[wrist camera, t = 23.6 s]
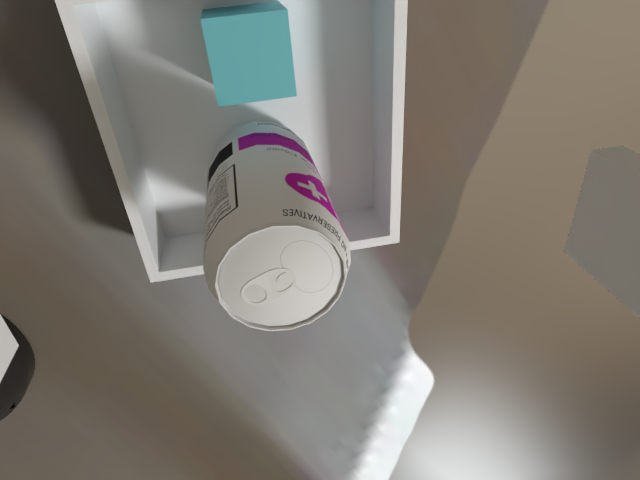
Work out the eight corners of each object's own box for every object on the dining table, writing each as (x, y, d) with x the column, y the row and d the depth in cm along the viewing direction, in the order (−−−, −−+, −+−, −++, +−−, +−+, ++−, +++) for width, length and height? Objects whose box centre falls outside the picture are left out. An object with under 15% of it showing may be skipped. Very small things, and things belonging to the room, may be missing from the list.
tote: (158, 243, 39) (150, 282, 35) (77, -18, 29) (50, -11, 24) (379, 209, 42) (399, 242, 37) (380, -44, 31) (409, -42, 26)
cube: (202, 9, 30) (200, 19, 26) (278, 0, 31) (287, 9, 27) (218, 86, 33) (218, 106, 29) (287, 77, 33) (296, 96, 29)
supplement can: (281, 98, 34) (317, 185, 22) (327, 185, 39) (378, 298, 26) (187, 150, 35) (169, 262, 22) (242, 229, 39) (254, 359, 27)
